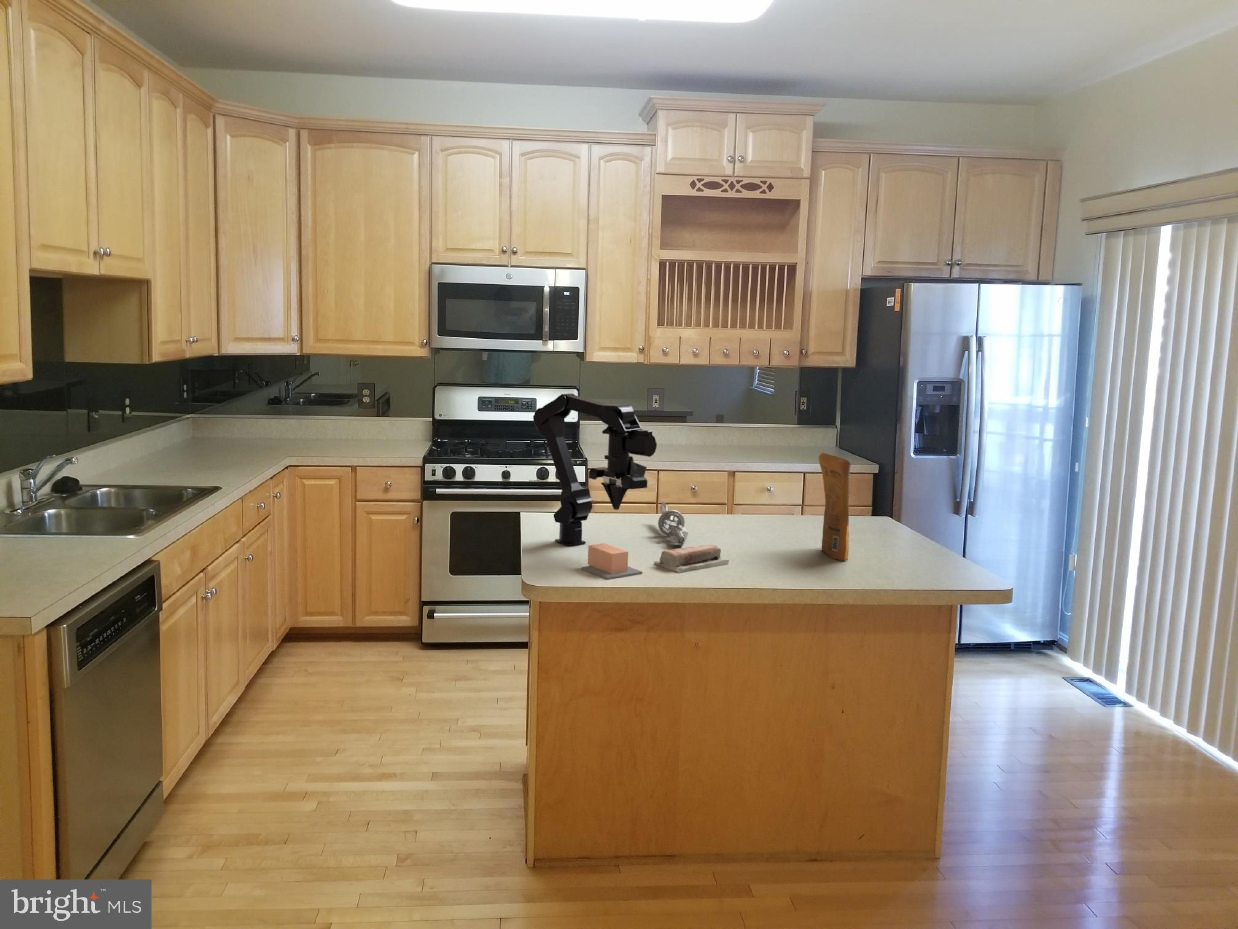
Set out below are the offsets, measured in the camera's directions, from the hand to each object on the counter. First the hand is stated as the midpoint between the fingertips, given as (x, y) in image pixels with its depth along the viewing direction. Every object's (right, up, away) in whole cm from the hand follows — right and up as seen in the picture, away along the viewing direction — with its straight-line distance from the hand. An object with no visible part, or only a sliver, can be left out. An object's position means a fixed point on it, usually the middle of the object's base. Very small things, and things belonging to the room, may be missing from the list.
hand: (616, 509), depth 267 cm
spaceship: (+16, -9, +25) cm, 31 cm away
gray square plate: (-1, -15, -17) cm, 22 cm away
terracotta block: (-5, -11, -12) cm, 17 cm away
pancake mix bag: (+60, -13, +12) cm, 63 cm away
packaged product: (+20, -15, -6) cm, 25 cm away
